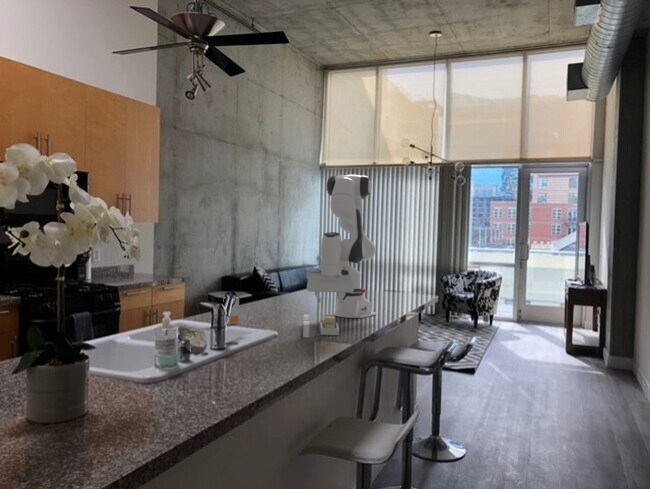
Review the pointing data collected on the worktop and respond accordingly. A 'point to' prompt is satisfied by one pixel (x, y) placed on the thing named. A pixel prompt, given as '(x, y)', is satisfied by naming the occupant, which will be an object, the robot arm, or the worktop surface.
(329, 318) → the bar
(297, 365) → the worktop surface
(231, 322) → the skincare box
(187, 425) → the worktop surface
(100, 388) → the worktop surface
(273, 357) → the worktop surface
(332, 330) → the pale green tray
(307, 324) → the door edge
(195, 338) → the long grey stone
